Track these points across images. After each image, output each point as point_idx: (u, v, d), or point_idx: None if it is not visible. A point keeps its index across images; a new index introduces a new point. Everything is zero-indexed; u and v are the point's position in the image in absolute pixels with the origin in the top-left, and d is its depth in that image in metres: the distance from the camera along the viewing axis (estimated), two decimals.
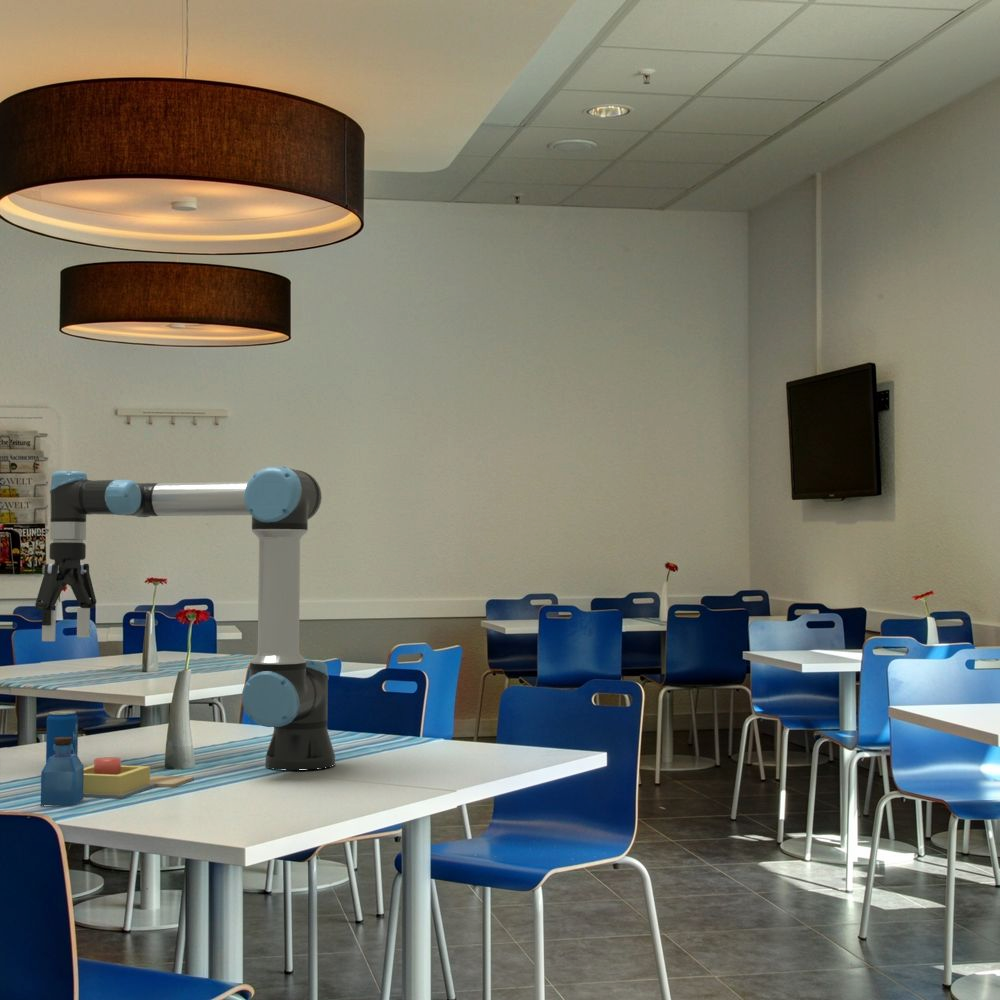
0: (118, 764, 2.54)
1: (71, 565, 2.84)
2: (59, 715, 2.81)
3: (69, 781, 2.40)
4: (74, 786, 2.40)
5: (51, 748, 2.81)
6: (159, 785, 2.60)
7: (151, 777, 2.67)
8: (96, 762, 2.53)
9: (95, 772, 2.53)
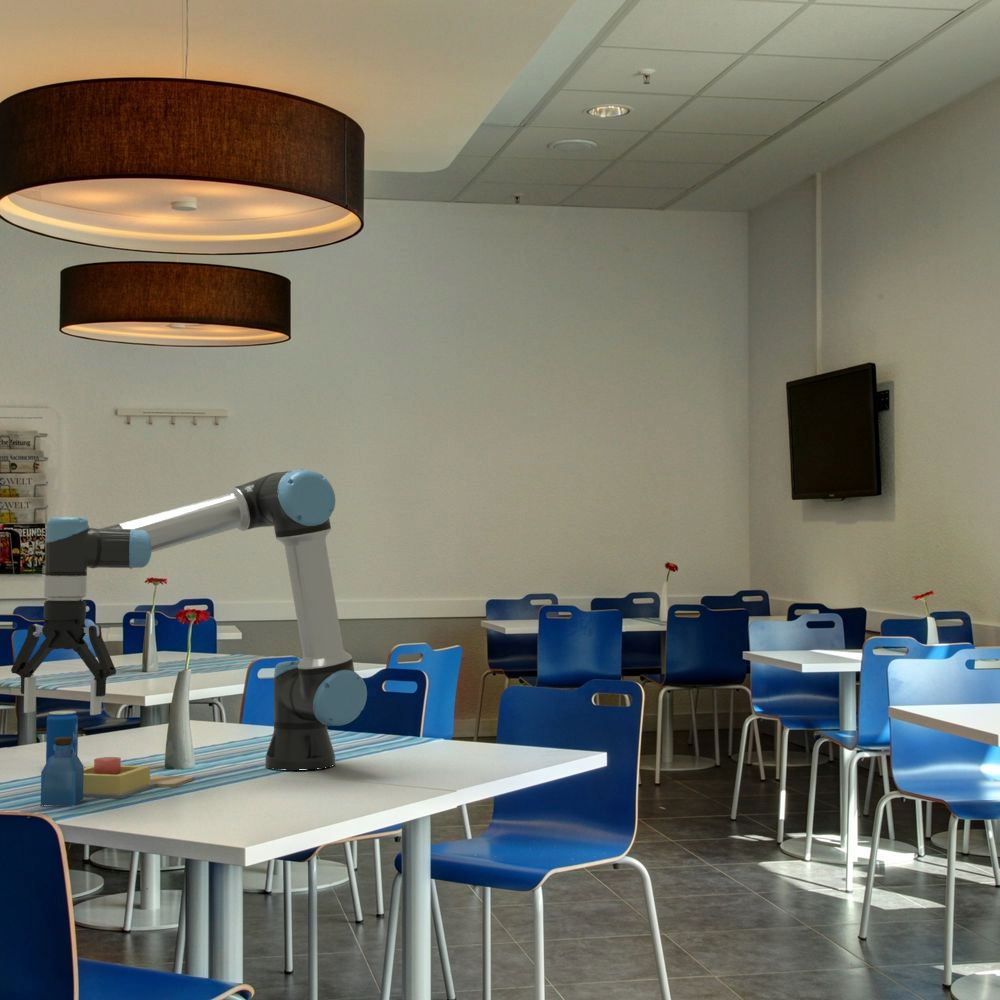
0: (118, 764, 2.54)
1: (60, 627, 2.43)
2: (59, 715, 2.81)
3: (69, 781, 2.40)
4: (74, 786, 2.40)
5: (51, 748, 2.81)
6: (159, 785, 2.60)
7: (151, 777, 2.67)
8: (96, 762, 2.53)
9: (95, 772, 2.53)
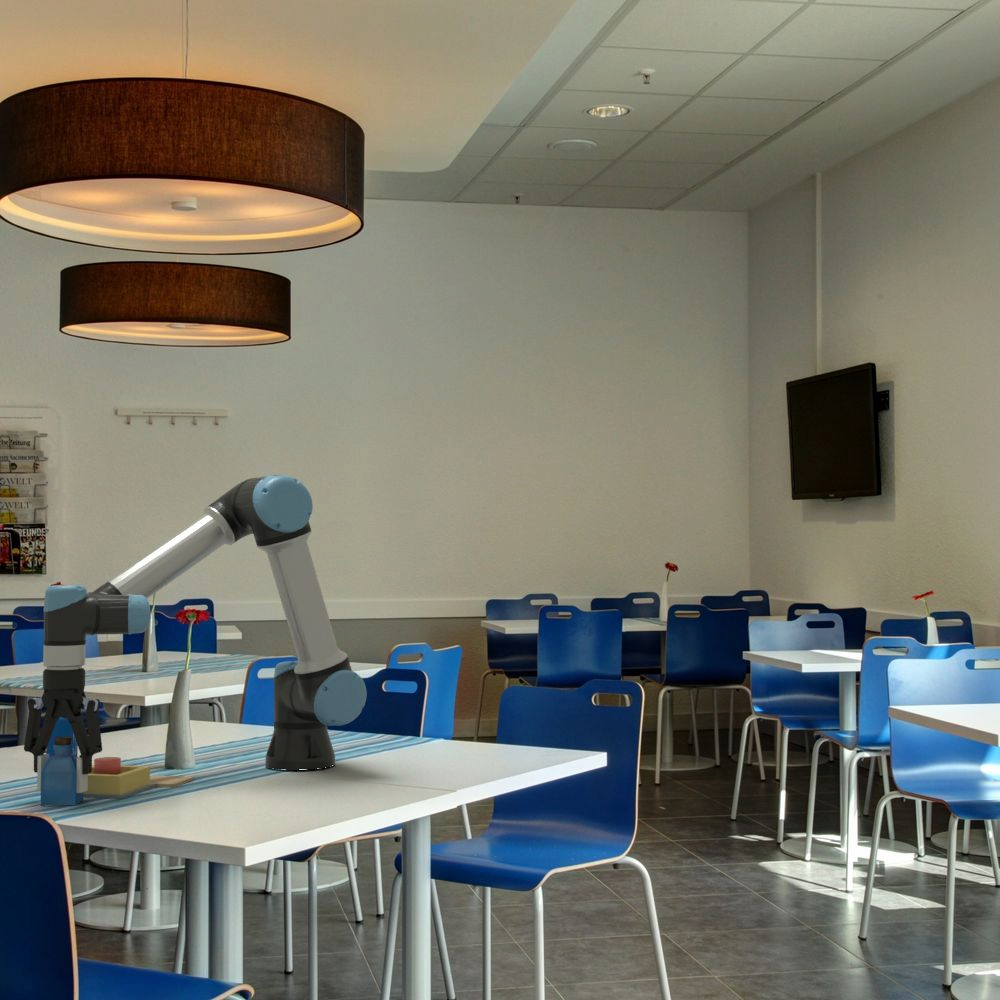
0: (118, 764, 2.54)
1: (59, 695, 2.43)
2: None
3: (69, 781, 2.40)
4: (74, 786, 2.40)
5: (51, 748, 2.81)
6: (159, 785, 2.60)
7: (151, 777, 2.67)
8: (96, 762, 2.53)
9: (95, 772, 2.53)
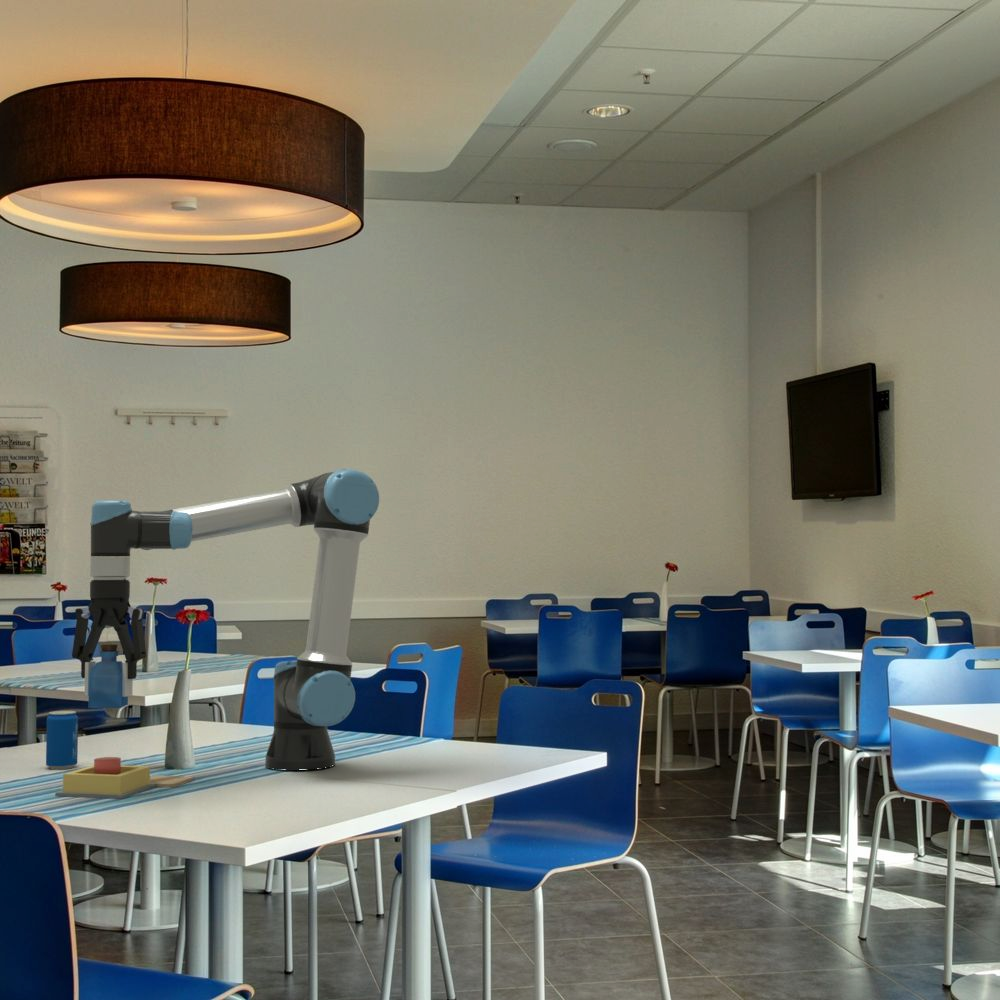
0: (118, 764, 2.54)
1: (106, 605, 2.56)
2: (59, 715, 2.81)
3: (115, 685, 2.53)
4: (120, 689, 2.53)
5: (51, 748, 2.81)
6: (159, 785, 2.60)
7: (151, 777, 2.67)
8: (96, 762, 2.53)
9: (95, 772, 2.53)
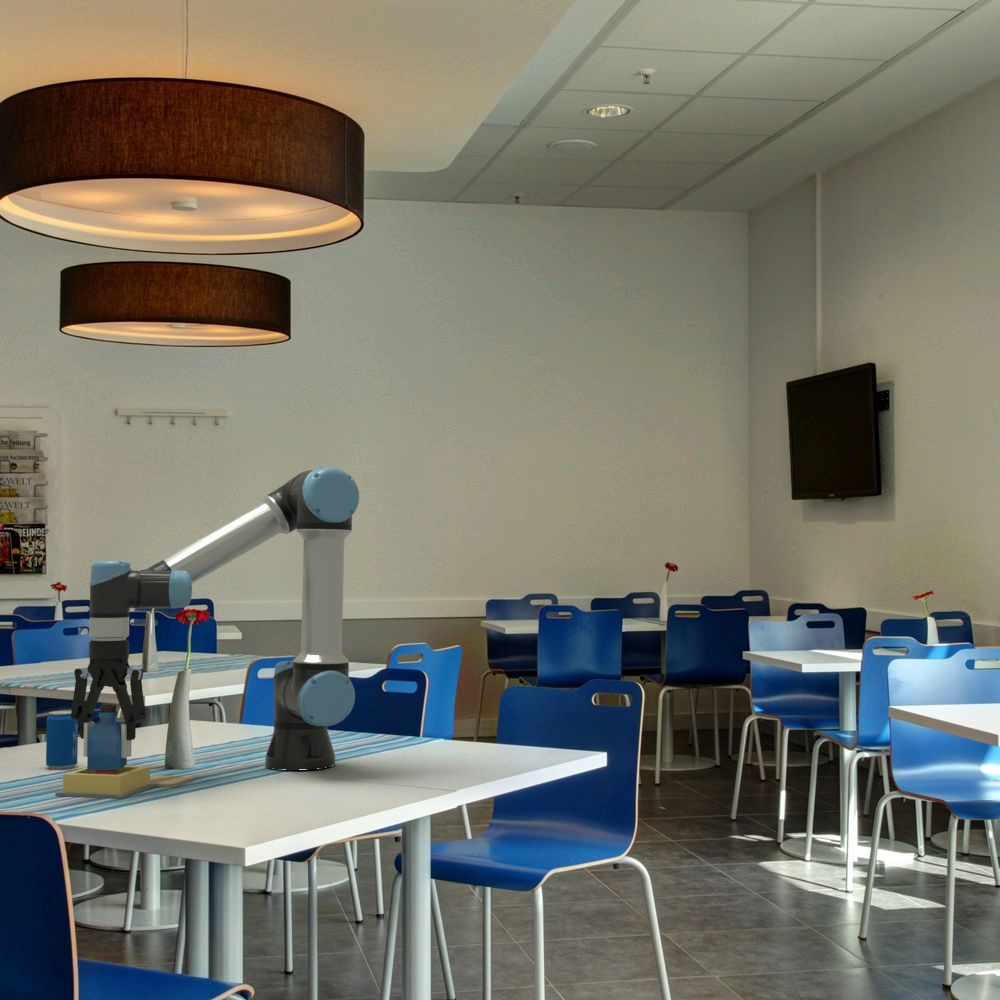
0: (118, 772, 2.54)
1: (105, 665, 2.55)
2: (59, 715, 2.81)
3: (114, 746, 2.52)
4: (119, 751, 2.52)
5: (51, 748, 2.81)
6: (159, 785, 2.60)
7: (151, 777, 2.67)
8: (96, 770, 2.53)
9: None
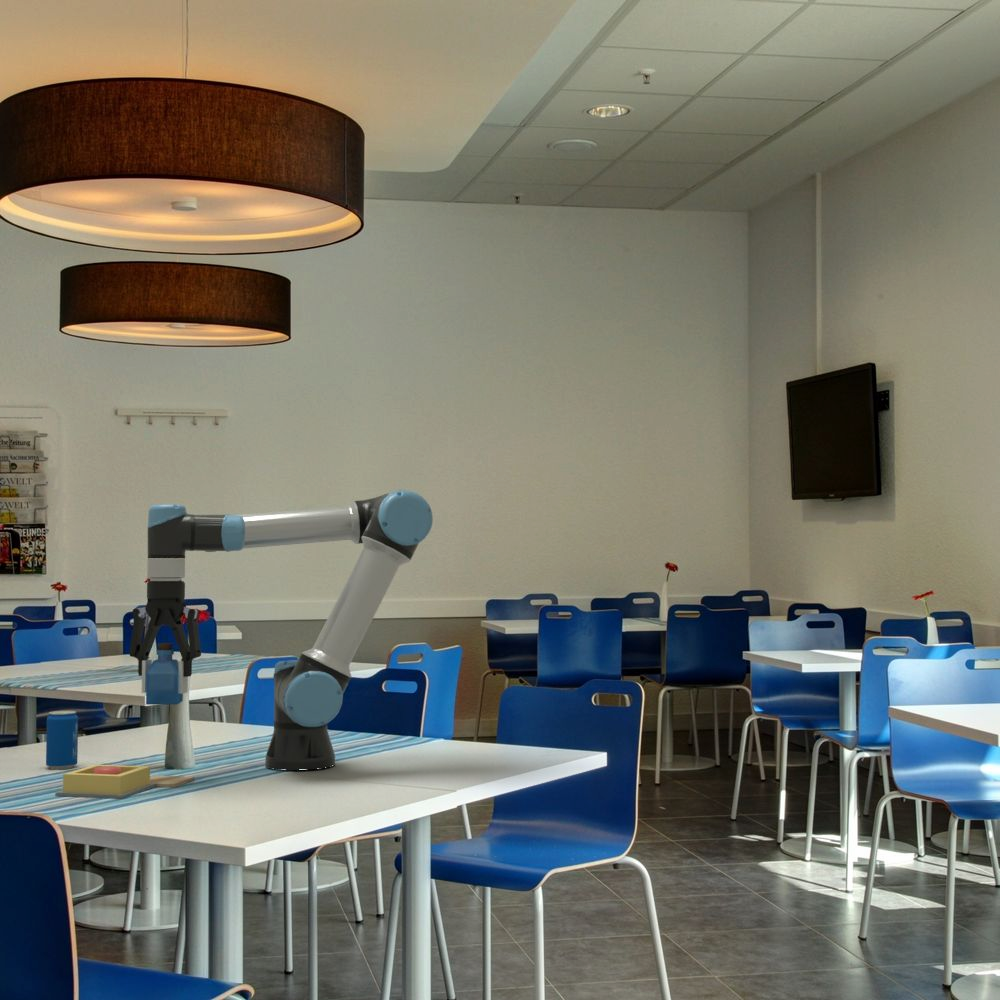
0: (118, 773, 2.54)
1: (162, 605, 2.65)
2: (59, 715, 2.81)
3: (172, 682, 2.62)
4: (176, 686, 2.62)
5: (51, 748, 2.81)
6: (159, 785, 2.60)
7: (151, 777, 2.67)
8: (96, 771, 2.53)
9: None
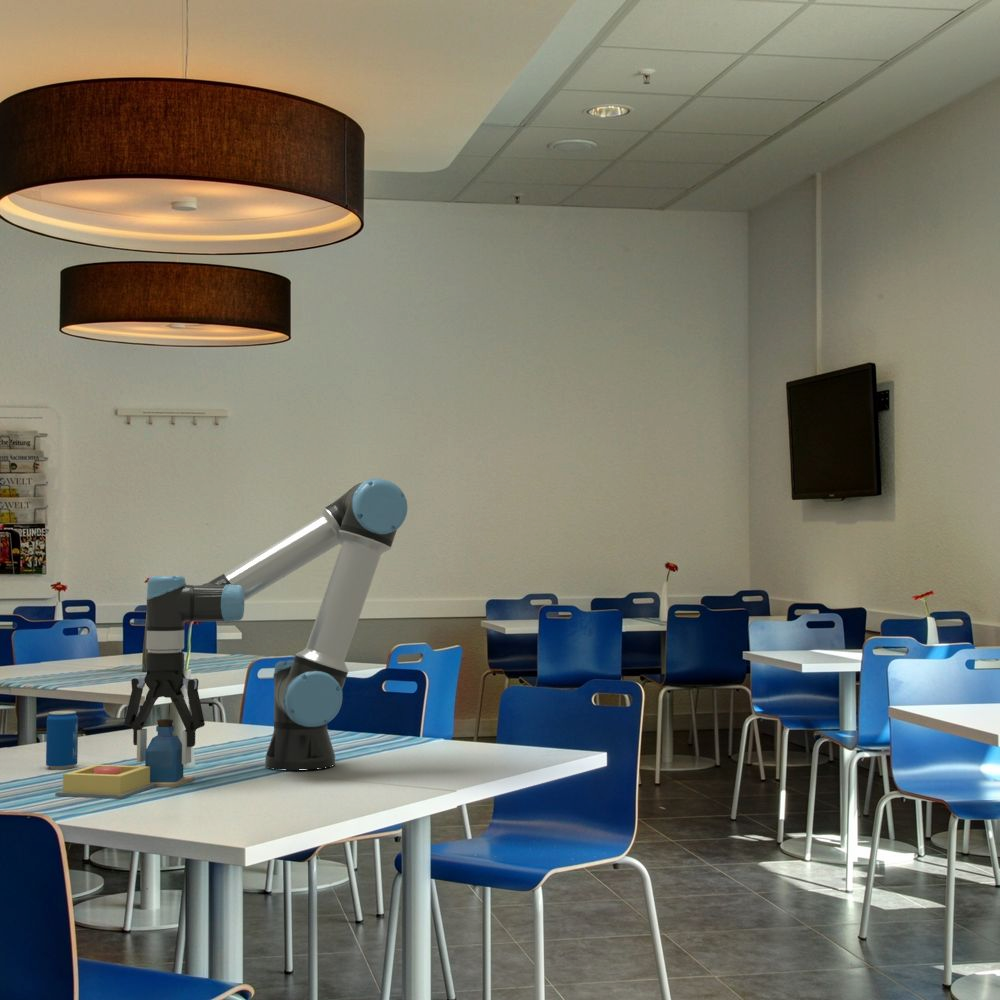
0: (118, 773, 2.54)
1: (161, 677, 2.64)
2: (59, 715, 2.81)
3: (170, 759, 2.61)
4: (175, 764, 2.61)
5: (51, 748, 2.81)
6: (159, 785, 2.60)
7: None
8: (96, 771, 2.53)
9: None
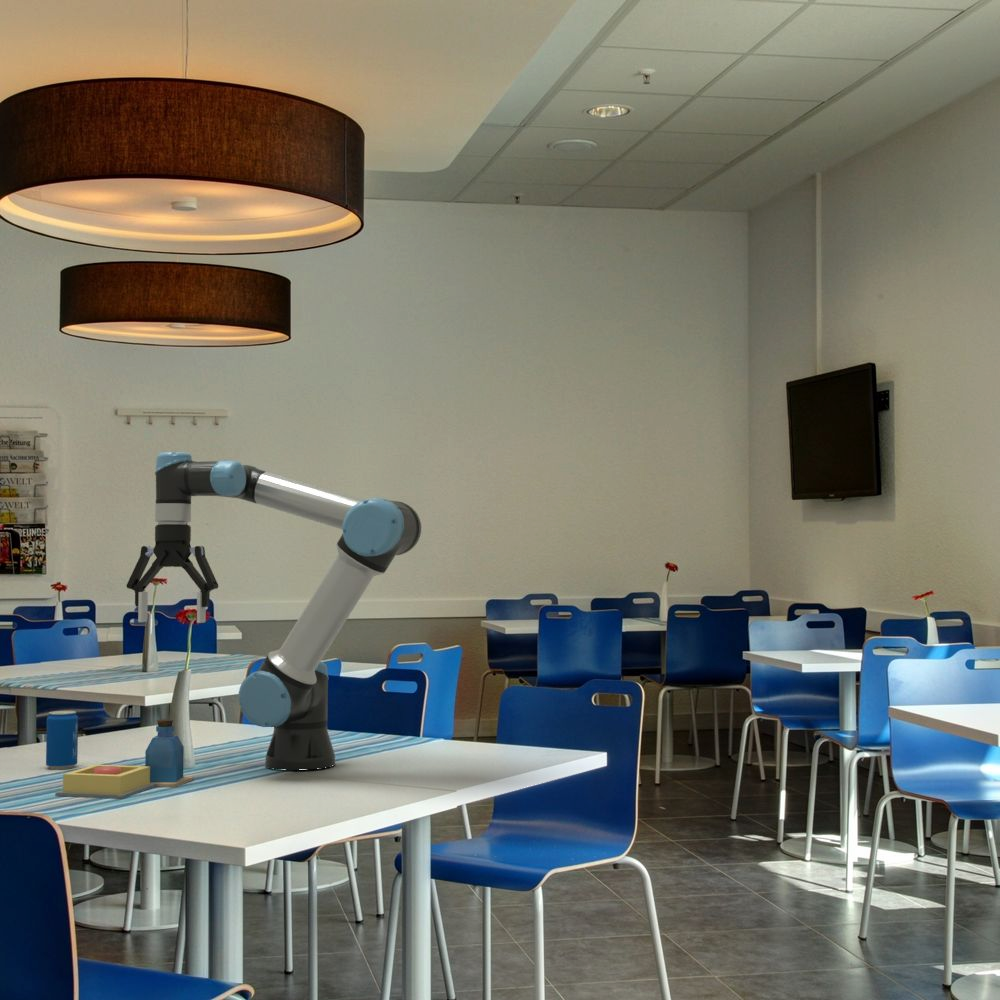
0: (118, 773, 2.54)
1: (169, 547, 2.80)
2: (59, 715, 2.81)
3: (170, 759, 2.61)
4: (175, 764, 2.61)
5: (51, 748, 2.81)
6: (159, 785, 2.60)
7: None
8: (96, 771, 2.53)
9: None
